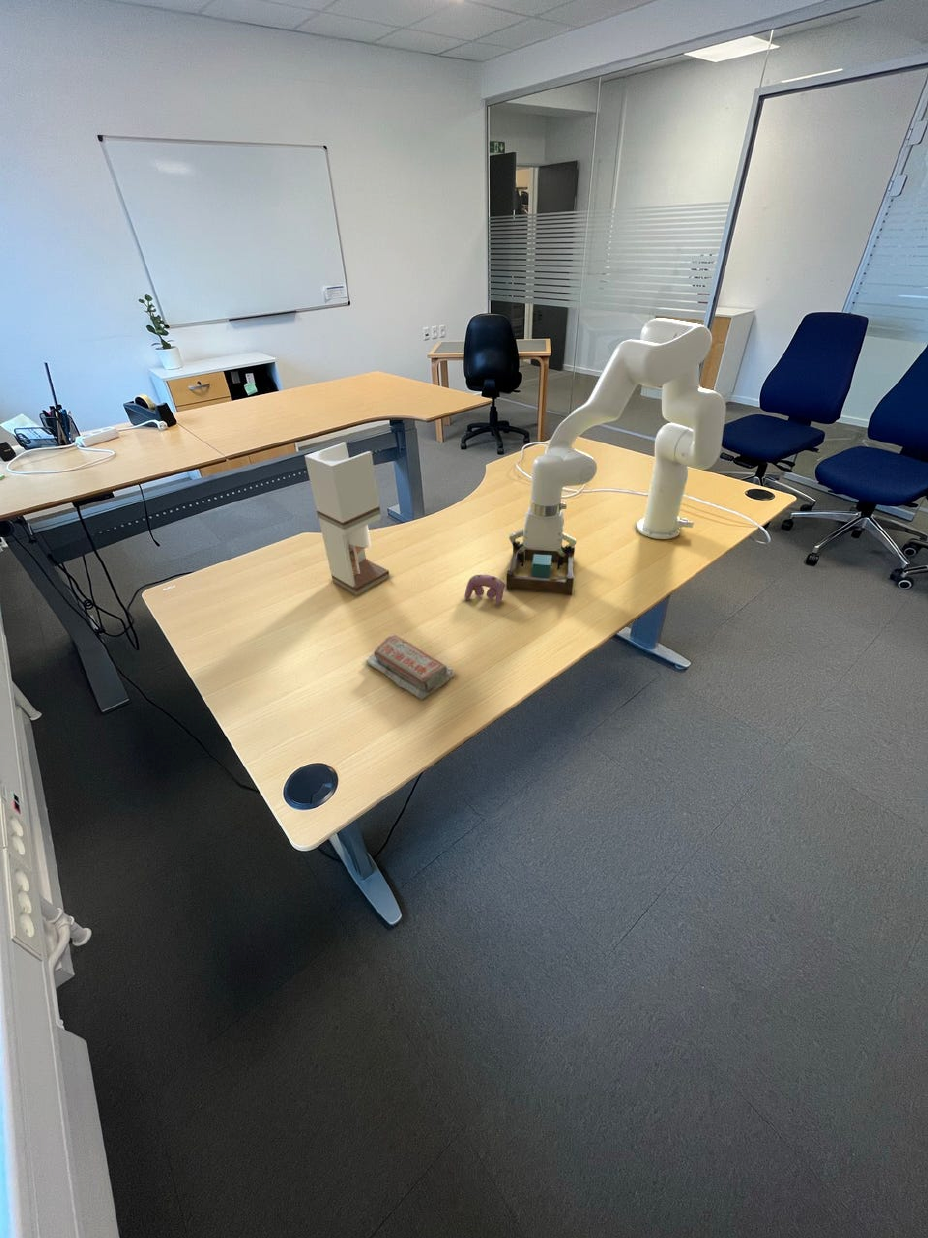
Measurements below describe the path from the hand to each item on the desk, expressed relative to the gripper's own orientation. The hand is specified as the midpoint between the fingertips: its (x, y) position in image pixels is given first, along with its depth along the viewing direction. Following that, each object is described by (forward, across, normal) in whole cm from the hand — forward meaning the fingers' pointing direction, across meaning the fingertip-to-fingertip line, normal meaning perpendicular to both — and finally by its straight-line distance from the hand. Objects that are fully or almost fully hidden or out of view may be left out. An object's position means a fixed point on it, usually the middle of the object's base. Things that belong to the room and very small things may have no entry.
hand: (540, 565), depth 139 cm
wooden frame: (+3, 0, 0) cm, 3 cm away
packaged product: (+4, +25, +42) cm, 49 cm away
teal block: (+3, 0, 0) cm, 3 cm away
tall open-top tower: (+4, +48, +9) cm, 49 cm away
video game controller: (+4, +13, +13) cm, 19 cm away
